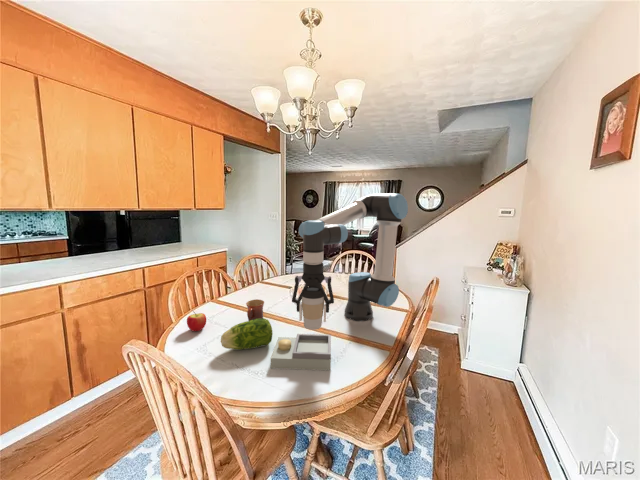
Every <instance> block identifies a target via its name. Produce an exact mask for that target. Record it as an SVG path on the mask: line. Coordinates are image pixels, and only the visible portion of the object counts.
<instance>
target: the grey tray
mask: <svg viewBox="0 0 640 480" xmlns="http://www.w3.org/2000/svg"><path fill="white" fill-rule="evenodd" d="M331 354H332V335H331V334H319V333H317V334H315V333H313V334H311V333H307V334H306V333H297V334H296V337H291V336H289V337H286V336H285V337H284V336H283V337H282V336H279V337H277V339H276V342H275V346H274V348H273V350H272V353H271V357H270V369H280V370H282V369H286V370H287V369H288V370H308V371H309V370H310V371H311V370H314V371H332V370H331V367H332V360H331V359H332V355H331Z"/></svg>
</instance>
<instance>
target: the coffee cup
mask: <svg viewBox="0 0 640 480" xmlns="http://www.w3.org/2000/svg"><path fill="white" fill-rule="evenodd" d="M301 296H302V299H301V302H302V320H303V327H304V328H305V329H307V330H310V331H311V330H312V331H314V330H316V331H317V330H319V329H320V328H322V325H323V317H324V303H325V301H324V293H322V292H321V290H319V289H318V287H308V288H307V290H304V292H303V293H302V295H301Z"/></svg>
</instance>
